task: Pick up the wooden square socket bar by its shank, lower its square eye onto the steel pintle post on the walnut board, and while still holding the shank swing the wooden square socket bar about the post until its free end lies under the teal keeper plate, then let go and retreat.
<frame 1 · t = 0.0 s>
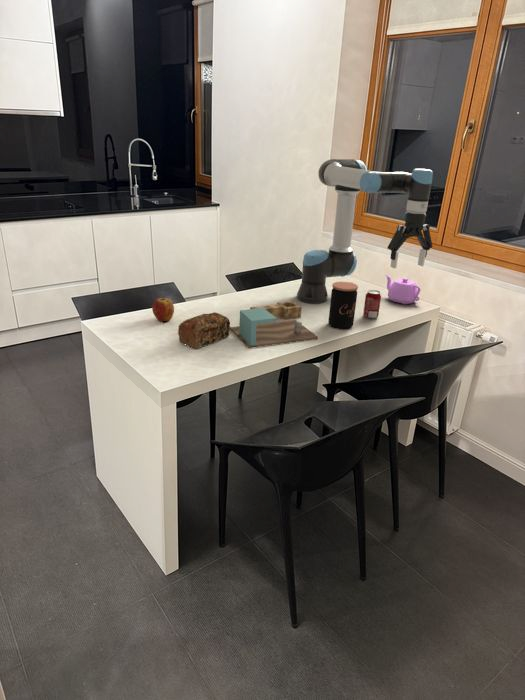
hand: (407, 266, 198), 28 cm above the table, fingers open, 13 cm apart
bread: (204, 340, 192), on the table
apple: (163, 321, 209), on the table
coffee jar: (340, 326, 213), on the table
keeper: (256, 340, 193), resting on pintle board
pintle board: (273, 334, 200), on the table
teapot: (399, 300, 248), on the table
wooden square socket bar: (251, 319, 214), on the table
soda can: (370, 317, 224), on the table
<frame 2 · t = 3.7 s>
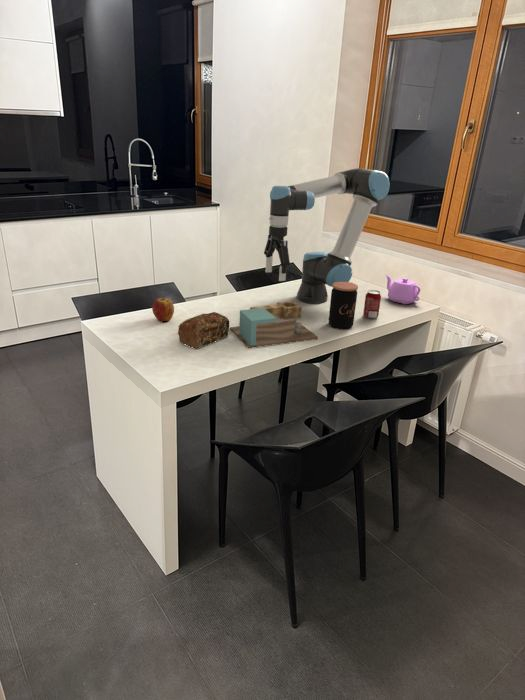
hand: (275, 276, 211), 19 cm above the table, fingers open, 13 cm apart
nothing on the table moved.
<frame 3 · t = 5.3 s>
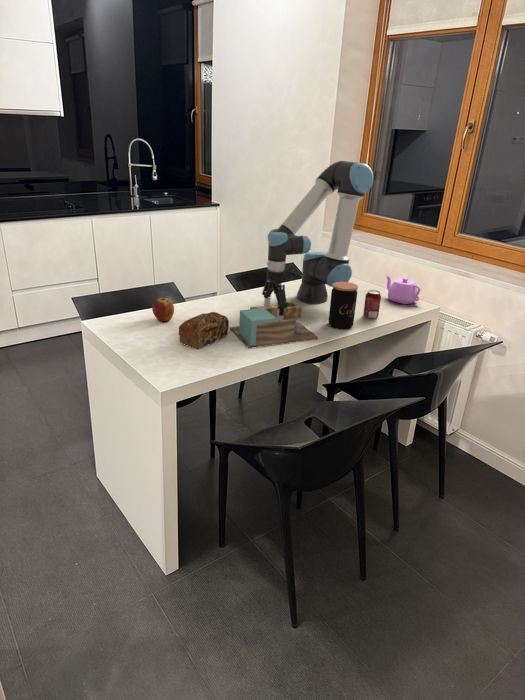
hand: (273, 316, 218), 0 cm above the table, fingers open, 13 cm apart
nothing on the table moved.
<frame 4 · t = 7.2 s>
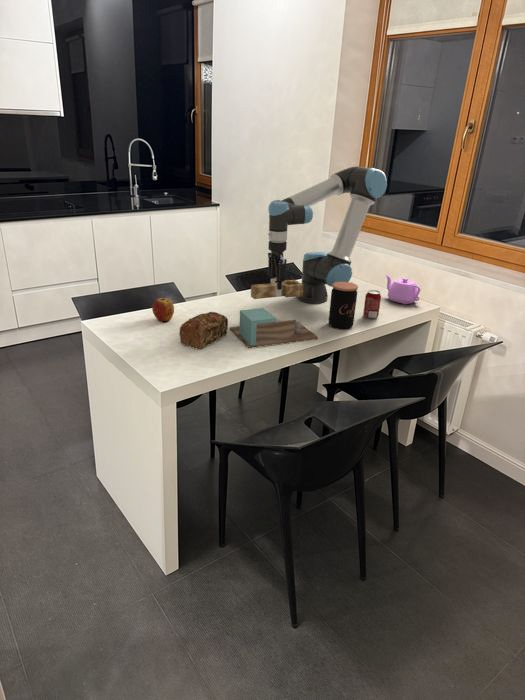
hand: (275, 294, 214), 10 cm above the table, fingers closed on wooden square socket bar, 4 cm apart
wooden square socket bar: (252, 297, 210), point 10 cm above the table, touching gripper
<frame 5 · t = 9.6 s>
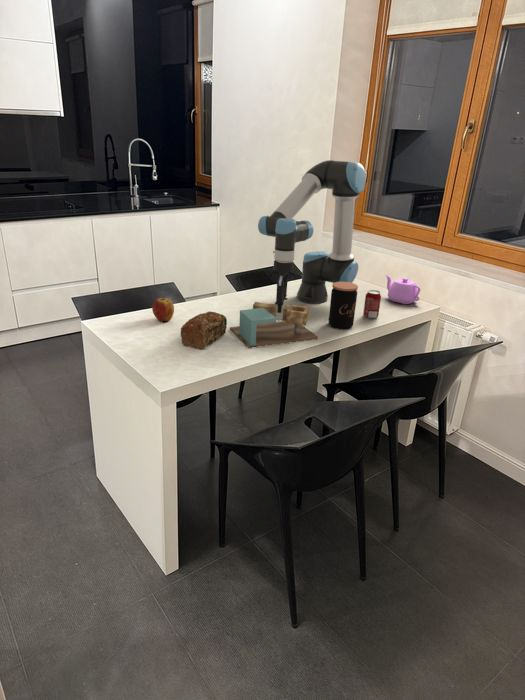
hand: (280, 317, 199), 7 cm above the table, fingers closed on wooden square socket bar, 4 cm apart
wooden square socket bar: (253, 315, 201), point 7 cm above the table, touching gripper
when the fingers open (2 cm above the table, at t = 12.4 s): wooden square socket bar stays where it is, resting on pintle board.
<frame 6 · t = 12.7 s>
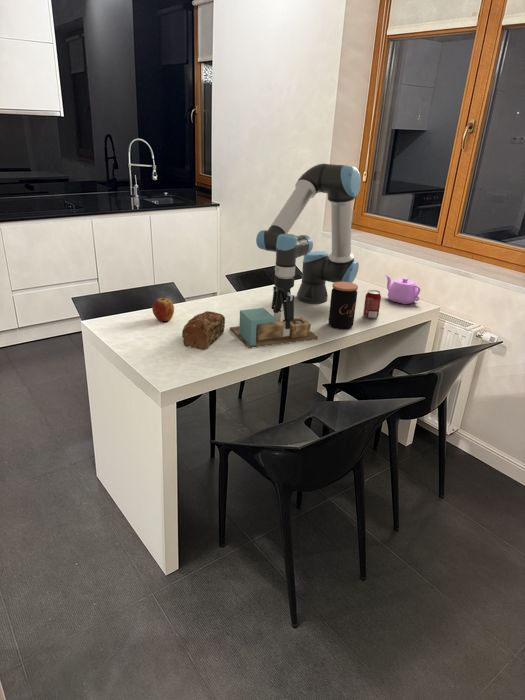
hand: (281, 331, 196), 2 cm above the table, fingers open, 8 cm apart
wooden square socket bar: (255, 338, 193), point 1 cm above the table, touching pintle board
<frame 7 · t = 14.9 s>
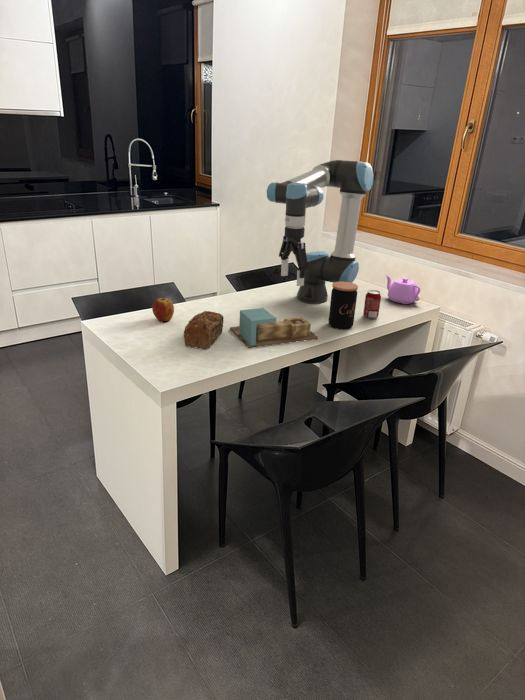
hand: (292, 280, 196), 21 cm above the table, fingers open, 13 cm apart
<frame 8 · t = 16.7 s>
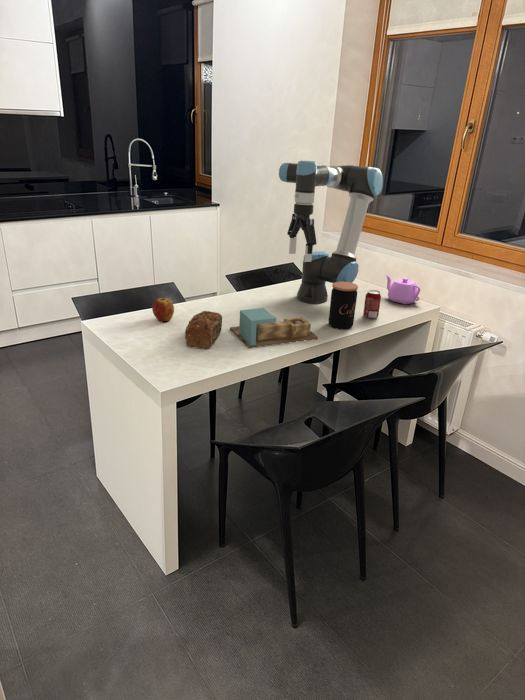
hand: (299, 257, 200), 29 cm above the table, fingers open, 13 cm apart
at the end: wooden square socket bar inside the target area on the pintle board (0.7 cm from its centre), point 1.0 cm above the pintle board's base; wooden square socket bar tilted 0°; wooden square socket bar touching pintle board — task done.
